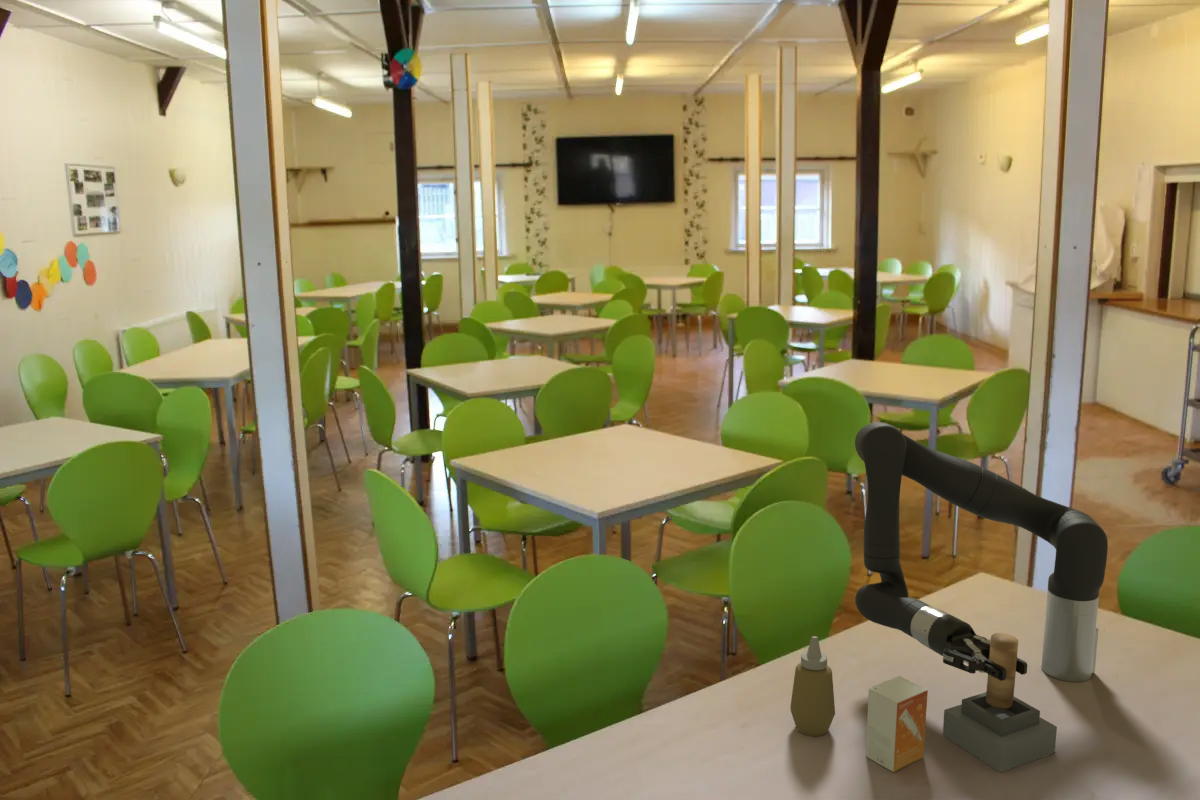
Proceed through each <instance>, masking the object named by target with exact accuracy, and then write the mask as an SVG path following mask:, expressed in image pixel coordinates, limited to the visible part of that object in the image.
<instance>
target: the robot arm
mask: <svg viewBox="0 0 1200 800" xmlns="http://www.w3.org/2000/svg"><path fill="white" fill-rule="evenodd" d="M854 439H855V440H854V446H855V450H856V453H857V455H858V456H859V458H860V459H861V461H863V462H864V463H863V464H864V467H865V469H864V470H865V474H866V483H867V503H866V511H865V518H864V524H863V526H864V527H863V565H864V567H865V568H866V570H868V571H869V572H873V573H877V574H879V575H880V576H879V577H880V579H881V580H880V582H876V583H868V584H865V585H862V586H861V587H859V589H858V590H857V592H856V593H855V596H854V601H855V602H854V603H855V606H856V609H857V610H858V613H860V614H861V616H863V617H864V618H865V619H866V620H867V621H870V622H872V623H874V624H878V625H880V626H884V627H887V628H891V629H894V630H899V631H901V632H902V633H904V634H905V635H908V636H909V637H911V638H913V639H915V640H916V641H917V642H919V644H921V645H923V646H924V647H926V648H927V649H929V650H931V651H933V652H935V653H937V654H938V655H940V656H942V663H943V664H945V665H948V666H951V667H953V668H955V669H959V670H961V671H964V672H967V673H969V674H976V672H977V671H978V672H979V673H981V674H987V675H988V674H989V675H991V676H993V677H994V678H997V679H999V680H1000V681H1003V680H1005V679H1006V669H1005V668H1004V667H1002V666H1000V665H998V664H996V663H994V662H992V661H991V660H989V655H990V643H991V638H990V639H987V638H986V637H985V636H980V635H978V634H976V631H974V628H973V627H972V626H971V625H970V624H969V623H968V622H966V621H963V620H961V618H960V619H959V617H956V616H954V615H952V614H950V613H949V612H946V611H944V610H942V609H939V608H937V607H934V606H932V605H930V604H928V603H926V602H924V601H922V600H920V599H917V598H915V597H909V590H908V587H907V584H906V580H905V577H904V573H903V569H902V566H901V550H900V548H901V547H900V545H901V543H900V542H901V540H900V539H901V538H900V537H901V536H900V535H901V534H900V531H901V529H900V497H901V496H900V494H901V484H902V477H906V478H908V479H910V480H912V481H914V482H916V483H918V484H919V485H921V486H923V487H924V488H926V489H927V490H929V491H931V493H933V494H935V495H936V496H939V497H940V498H942V499H943V500H945V501H947V502H949V503H951V504H953V505H954V506H955V507H958V508H960V509H962V510H964V511H967V512H969V513H971V514H973V515H975V516H978V517H980V518H982V519H985V520H989V521H992V522H993V521H994V522H998V523H1003V524H1009V525H1011V526H1012V525H1014V526H1016V527H1019V528H1021V529H1023V530H1026V531H1028V532H1030V533H1032V534H1033V535H1035V536H1037V537H1039V538H1040V539H1042V540H1043V541H1046V542H1047V543H1049V544H1050V545H1052V546H1053V547H1054V549H1055V558H1054V559H1055V560H1054V567H1053V568H1054V569H1053V573H1050V575H1048V582H1047V594H1046V606H1045V620H1044V631H1043V643H1042V644H1043V645H1042V653H1041V654H1042V657H1041V670H1042V671H1043V672H1044V673H1045V674H1046V675H1048V676H1050V677H1053V678H1056V679H1058V680H1062V681H1066V682H1071V683H1072V682H1075V683H1077V682H1079V683H1080V682H1085V681H1089V680H1090V679H1091V678H1092V675H1093V674H1094V673H1095V672H1096V661H1097V650H1098V640H1099V628H1097V621H1098V610H1099V600H1100V599H1099V597H1100V589H1101V588H1102V587H1103V584H1104V580H1105V575H1106V569H1107V568H1106V567H1107V560H1108V551H1109V550H1108V549H1109V547H1108V546H1109V544H1108V543H1109V541H1108V537H1107V534H1106V532H1105V530H1104V529H1103V528H1102V527H1101V526H1100V524H1099V523H1097V521H1095V520H1094V518H1092V516H1090V515H1089V514H1087V513H1085V512H1084V511H1081V510H1079V509H1075V508H1073V507H1070V506H1066V505H1063V504H1061V503H1057V502H1055V501H1052V500H1050V499H1046V498H1044V497H1043V496H1042V497H1041V496H1039V495H1037V494H1036V493H1033V492H1030V491H1029V490H1028V489H1026V488H1025V487H1022V486H1020V485H1019V484H1017V483H1016V482H1013V481H1011V480H1009V479H1008V478H1005V477H1003V476H1001V475H1000V474H998V473H996V472H993V471H991V470H989V469H987V468H985V467H983V466H980V465H978V464H976V463H973V462H970V461H968V460H965V459H962V458H960V457H957V456H954V455H951V454H948V453H945V452H942V451H939V450H935V449H933V448H931V447H928V446H926V445H923V444H921V443H920V442H918V441H917V440H914V439H913V438H911V437H909V436H907V435H905V434H904V433H902V431H901V430H899V429H898V428H897V427H895V426H893V425H891V424H889V423H886V422H881V421H876V422H875V421H874V422H871V423H868V424H866V425H864V426H862V427H861V428H860V429H859V431H857V433H856V435H855V438H854ZM965 663H966V664H967V665H965ZM1016 673H1018V674H1020V675H1022V676H1023V675H1026V674H1027V673H1028V663H1027V662H1026V661H1025V660H1022V659H1021V658H1020V657H1017V663H1016Z"/></svg>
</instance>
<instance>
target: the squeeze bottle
mask: <svg viewBox="0 0 1200 800" xmlns="http://www.w3.org/2000/svg"><path fill="white" fill-rule="evenodd" d="M794 669H795V670H794V677H793V683H792V684H793V685H792V692H791V698H790V699H791V700H790V712H791V715H792V718H793V721H794V725H795V728H796V729H797V731H798V732H800V733H802V734H803V735H805V736H811V737H818V736H819V737H820V736H823V735H826V734H827V733H828V731H829V730H830V727H831V726H832V725H831V724H832V723H833V720H834V717H835V716H836V706H835V694H834V679H833V669H832V668H831V667H830V666H829V665H828V656H827V654H825V653H823V652H822V651H821V647H820V641H819V637H818V636H816V635H815V636H811V638H810V641H809V645H808V649H807V651H803V652H802V653H801V655H800V663H798V664H797V665H796V666H795V668H794Z"/></svg>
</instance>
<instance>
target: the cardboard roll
mask: <svg viewBox="0 0 1200 800" xmlns="http://www.w3.org/2000/svg"><path fill="white" fill-rule="evenodd" d="M990 639H991V643H990V655H989V660H991V661H992V662H994V663H996V664H998V665H1000V666H1002V667H1004V668H1005V669H1006V679H1005V680H1003V681H1000V680H999V679H997V678H994V677H993V676H991V675H989V674H987V683H986V691H985V692H986V702H987V703H988V704H989V705H991V706H993V707H996V708H1002V709H1007V708H1010V707H1012V706H1013V697H1015V696H1014V694H1015V686H1016V685H1015V684H1016V673H1017V672H1016V663H1017V658H1018V650H1019V648H1018V647H1019V639H1018V638H1017V637H1016V636H1013V635H1012V634H1008V633H1002V632H999V633H998V632H996V633H994V634H992V635H990Z"/></svg>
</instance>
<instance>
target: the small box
mask: <svg viewBox="0 0 1200 800" xmlns="http://www.w3.org/2000/svg"><path fill="white" fill-rule="evenodd" d="M928 692H929V691H928V689H926V687H923V686H921V685H919V684H916V683H915V682H913V681H911V680H909V679H907V678H905V677H903V676H901V675H898V676H896V677H893V678H890V679H889V680H885V681H882V682H881V683H879V684H877V685H876V684H875V685H874V686H872V687H869V688H868V697H867V700H868V702H867V720H866V721H867V722H866V723H867V724H866V740H865V741H866V743H865V745H866V746H865V756H866V758H868V759H870V760H871V761H873V762H875V763H877V764H879V765H880V766H882V767H884V768H885V769H887V770H889V771H891V772H892V773H895V772H897V771H899V770H900V769H903V768H905V767H907V766H909V765H911V764H912V763H914V762H917V761H919V760H921V759H923V758H924V756H925V755H924V754H925V753H924V752H925V741H926V740H925V739H926V738H925V737H926V725H927V724H926V723H927V707H928V706H927V705H928Z"/></svg>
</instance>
